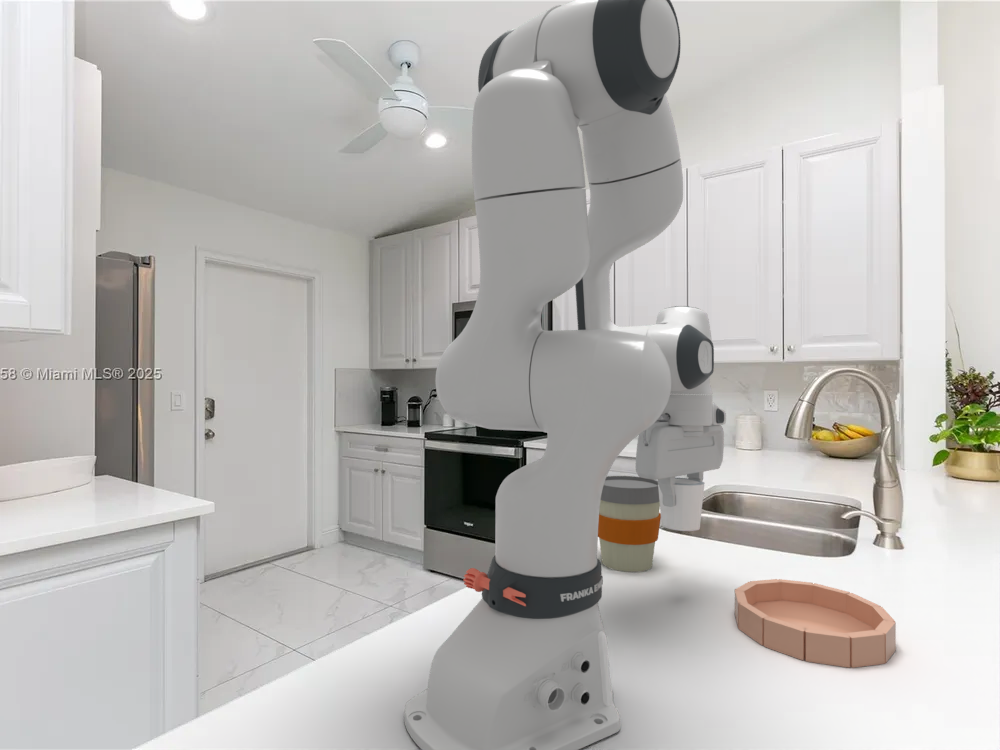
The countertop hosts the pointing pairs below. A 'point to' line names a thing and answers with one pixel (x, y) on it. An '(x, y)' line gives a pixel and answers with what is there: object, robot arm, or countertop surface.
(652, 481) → the reusable coffee cup
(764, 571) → the countertop surface
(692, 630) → the countertop surface
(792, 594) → the terracotta round tray
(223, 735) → the countertop surface
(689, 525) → the white tapered cup
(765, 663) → the countertop surface
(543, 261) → the robot arm
